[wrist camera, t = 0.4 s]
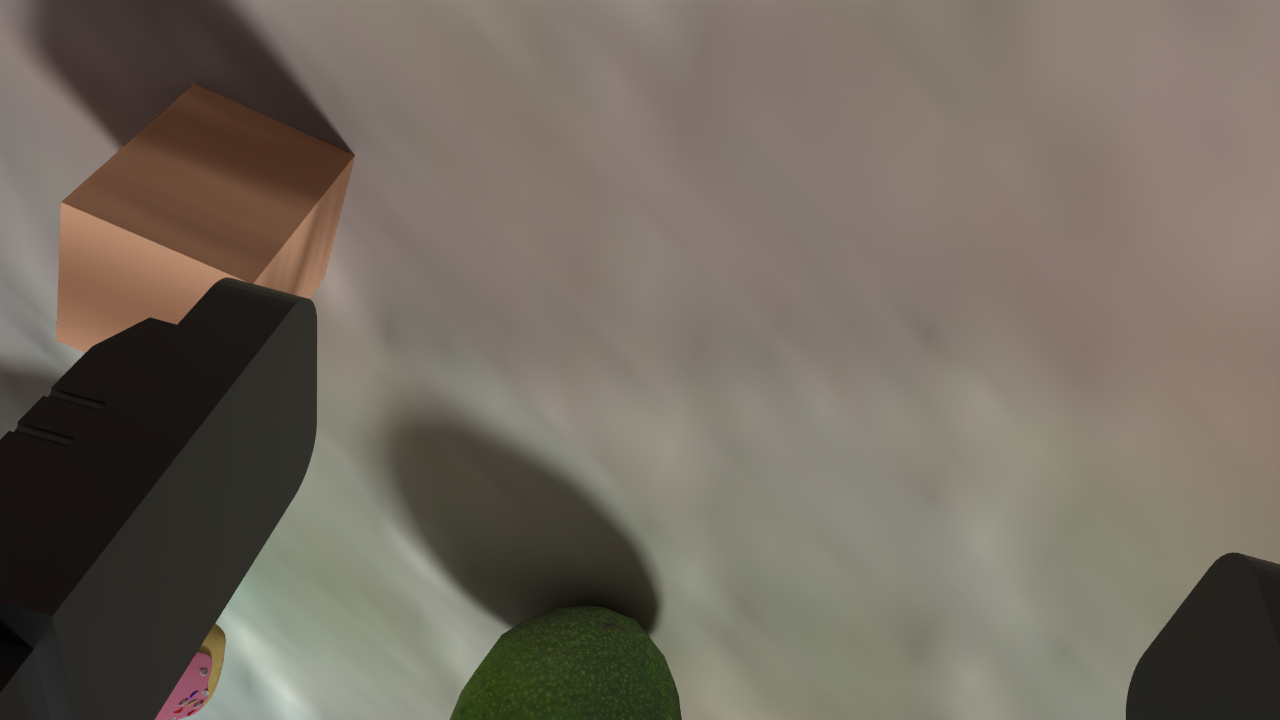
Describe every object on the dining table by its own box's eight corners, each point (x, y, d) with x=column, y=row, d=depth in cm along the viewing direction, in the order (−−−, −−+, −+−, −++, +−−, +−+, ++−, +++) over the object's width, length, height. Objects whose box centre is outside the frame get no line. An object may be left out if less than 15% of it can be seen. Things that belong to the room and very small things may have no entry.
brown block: (194, 83, 29) (61, 202, 25) (355, 154, 30) (252, 284, 25) (178, 212, 32) (56, 340, 28) (325, 276, 33) (228, 412, 28)
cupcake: (30, 443, 41) (-230, 734, 32) (247, 475, 39) (42, 788, 30) (103, 594, 46) (-100, 880, 37) (296, 627, 45) (135, 931, 36)
